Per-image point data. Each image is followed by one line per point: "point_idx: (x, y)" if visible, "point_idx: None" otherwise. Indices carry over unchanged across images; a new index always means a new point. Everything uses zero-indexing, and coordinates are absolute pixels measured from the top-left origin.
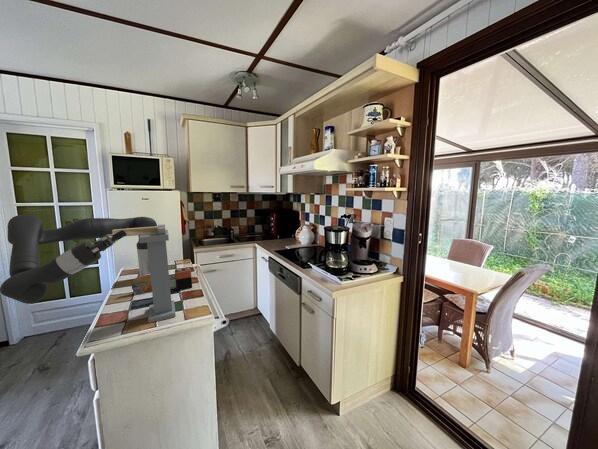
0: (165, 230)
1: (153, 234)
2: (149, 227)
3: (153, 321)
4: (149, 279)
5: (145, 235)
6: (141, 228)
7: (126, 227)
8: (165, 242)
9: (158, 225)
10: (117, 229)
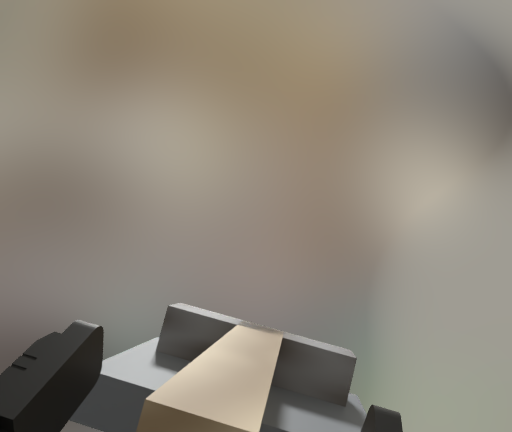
0: None
1: (289, 399)
2: (261, 340)
3: None
4: None
5: (303, 421)
6: (277, 356)
7: (100, 338)
8: None
9: (201, 314)
10: (189, 391)
